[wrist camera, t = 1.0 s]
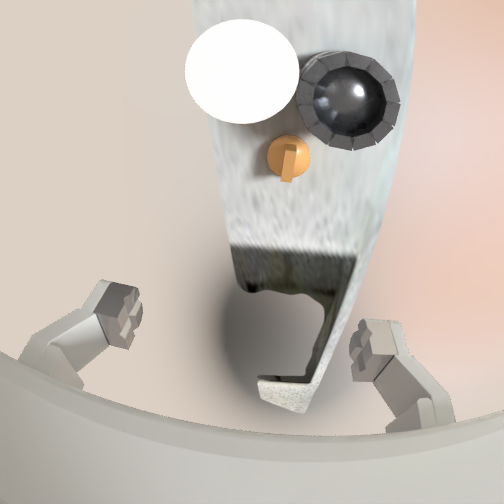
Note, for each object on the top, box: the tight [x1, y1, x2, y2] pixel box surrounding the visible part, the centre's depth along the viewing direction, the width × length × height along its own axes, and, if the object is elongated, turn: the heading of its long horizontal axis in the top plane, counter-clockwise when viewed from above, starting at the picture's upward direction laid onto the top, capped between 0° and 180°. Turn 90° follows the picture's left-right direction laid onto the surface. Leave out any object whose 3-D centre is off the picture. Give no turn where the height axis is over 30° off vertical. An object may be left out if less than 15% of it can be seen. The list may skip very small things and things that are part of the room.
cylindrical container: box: [185, 19, 299, 124], centre depth 25 cm, size 7×7×25 cm
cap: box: [267, 135, 310, 183], centre depth 42 cm, size 7×7×5 cm
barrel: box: [296, 50, 400, 151], centre depth 32 cm, size 12×12×10 cm
